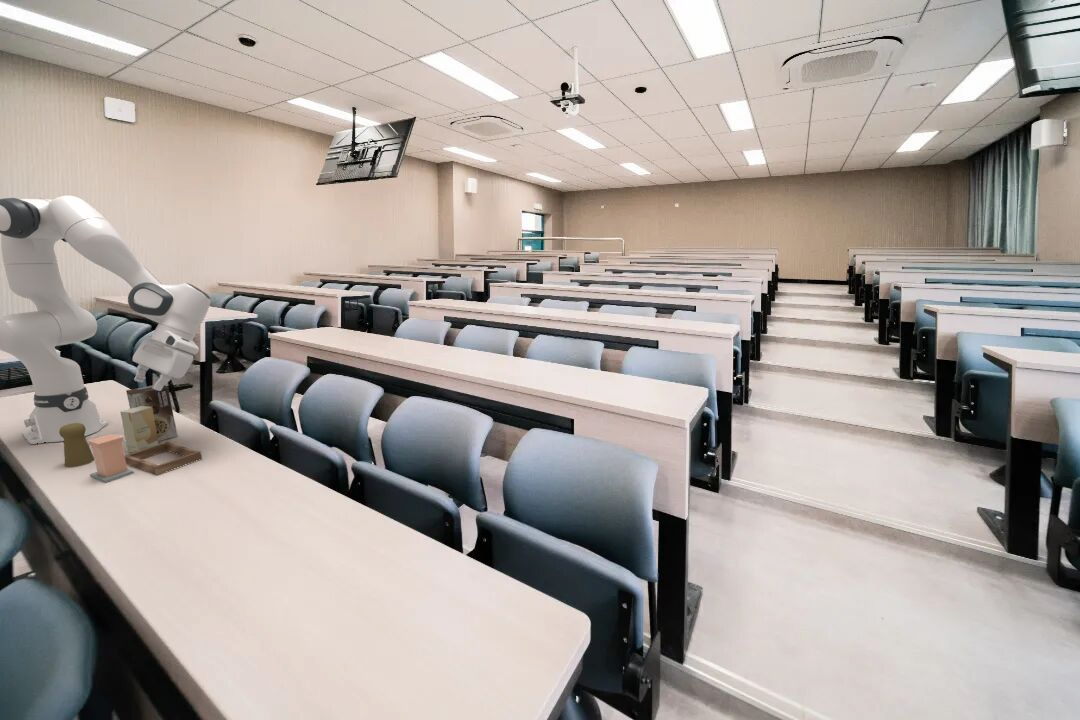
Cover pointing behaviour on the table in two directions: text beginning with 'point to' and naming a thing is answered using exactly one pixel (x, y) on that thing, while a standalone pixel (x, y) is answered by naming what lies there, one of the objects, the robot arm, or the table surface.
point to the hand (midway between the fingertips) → (146, 385)
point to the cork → (75, 445)
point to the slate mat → (113, 477)
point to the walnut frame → (188, 457)
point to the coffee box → (155, 408)
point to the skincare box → (139, 428)
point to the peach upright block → (108, 455)
